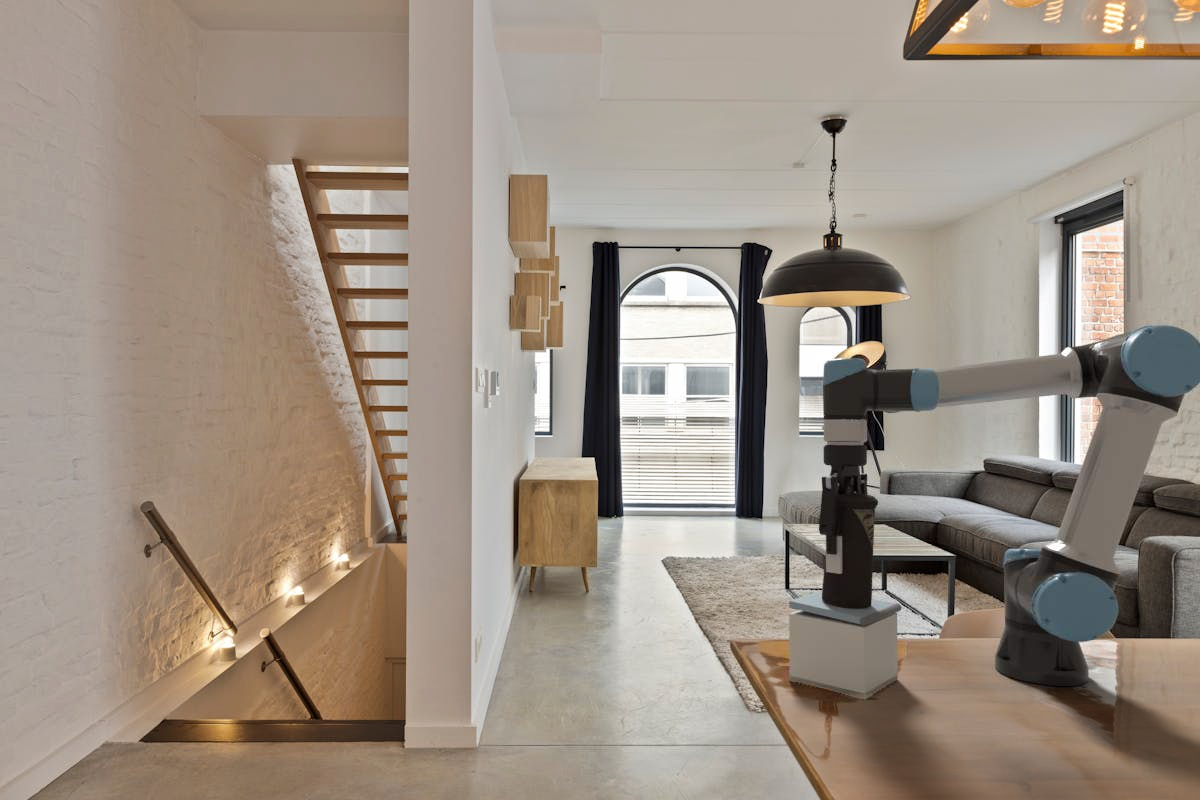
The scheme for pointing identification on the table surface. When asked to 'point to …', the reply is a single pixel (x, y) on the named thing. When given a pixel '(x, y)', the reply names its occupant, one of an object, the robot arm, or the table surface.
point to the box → (842, 653)
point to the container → (853, 554)
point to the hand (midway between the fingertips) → (845, 568)
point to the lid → (845, 609)
